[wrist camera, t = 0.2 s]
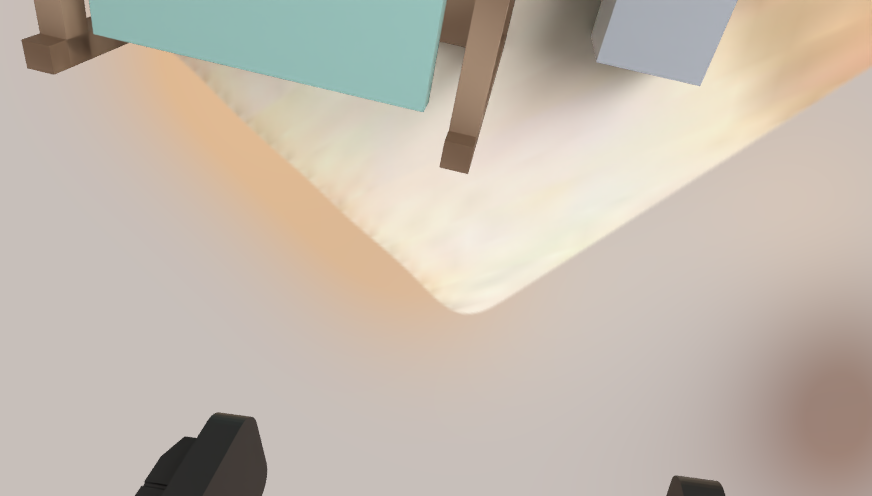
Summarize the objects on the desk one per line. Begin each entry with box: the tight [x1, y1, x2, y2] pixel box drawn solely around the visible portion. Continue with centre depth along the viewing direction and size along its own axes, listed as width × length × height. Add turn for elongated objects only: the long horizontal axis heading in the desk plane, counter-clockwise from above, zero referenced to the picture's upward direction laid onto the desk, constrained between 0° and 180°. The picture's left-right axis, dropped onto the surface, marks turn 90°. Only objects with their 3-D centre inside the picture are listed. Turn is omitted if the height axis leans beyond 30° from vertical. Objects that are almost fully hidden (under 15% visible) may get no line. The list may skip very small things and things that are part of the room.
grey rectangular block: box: [591, 0, 737, 86], centre depth 29 cm, size 5×5×6 cm
